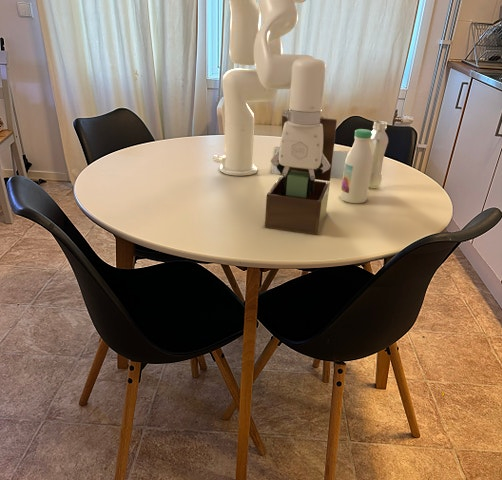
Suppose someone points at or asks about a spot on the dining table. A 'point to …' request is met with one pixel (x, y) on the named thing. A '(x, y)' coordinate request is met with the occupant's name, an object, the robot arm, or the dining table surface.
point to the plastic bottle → (377, 152)
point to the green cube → (297, 183)
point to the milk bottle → (357, 169)
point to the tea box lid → (328, 146)
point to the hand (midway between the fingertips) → (297, 191)
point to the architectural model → (337, 164)
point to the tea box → (296, 209)
